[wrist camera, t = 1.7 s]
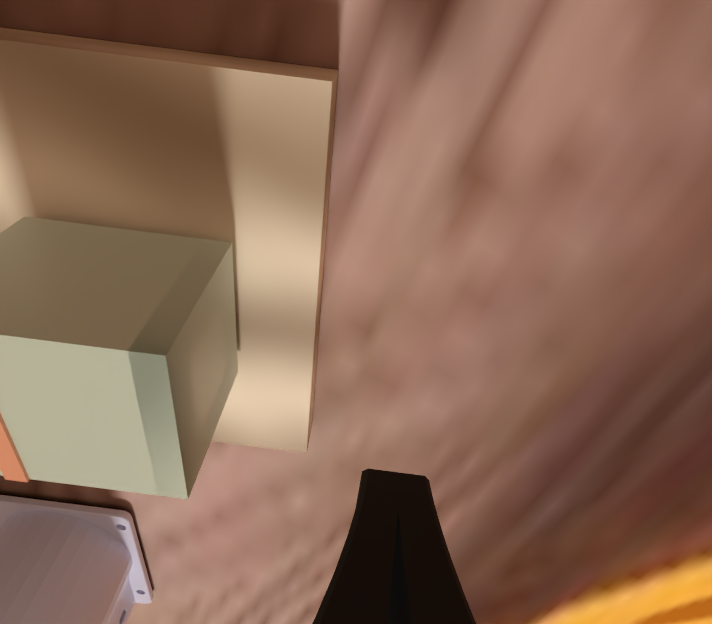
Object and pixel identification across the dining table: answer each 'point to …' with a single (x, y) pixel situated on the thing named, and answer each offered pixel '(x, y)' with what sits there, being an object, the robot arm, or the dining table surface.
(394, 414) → the dining table surface
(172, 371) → the pale green cube
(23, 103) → the stud board
